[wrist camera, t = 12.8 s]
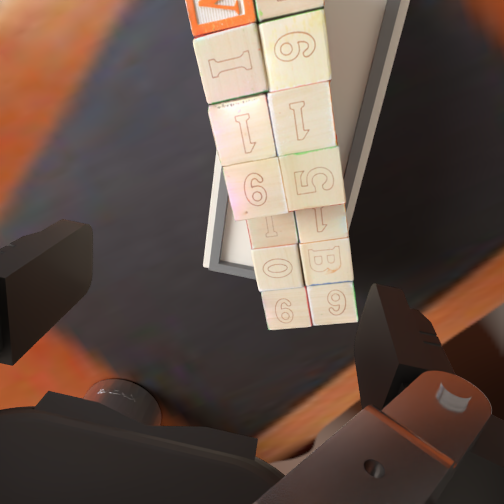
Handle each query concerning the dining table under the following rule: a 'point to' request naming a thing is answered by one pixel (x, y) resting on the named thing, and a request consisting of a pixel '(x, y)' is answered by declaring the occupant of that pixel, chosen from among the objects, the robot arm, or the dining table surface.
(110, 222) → the dining table surface
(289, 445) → the dining table surface
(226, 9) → the stack of blocks
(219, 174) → the base board
